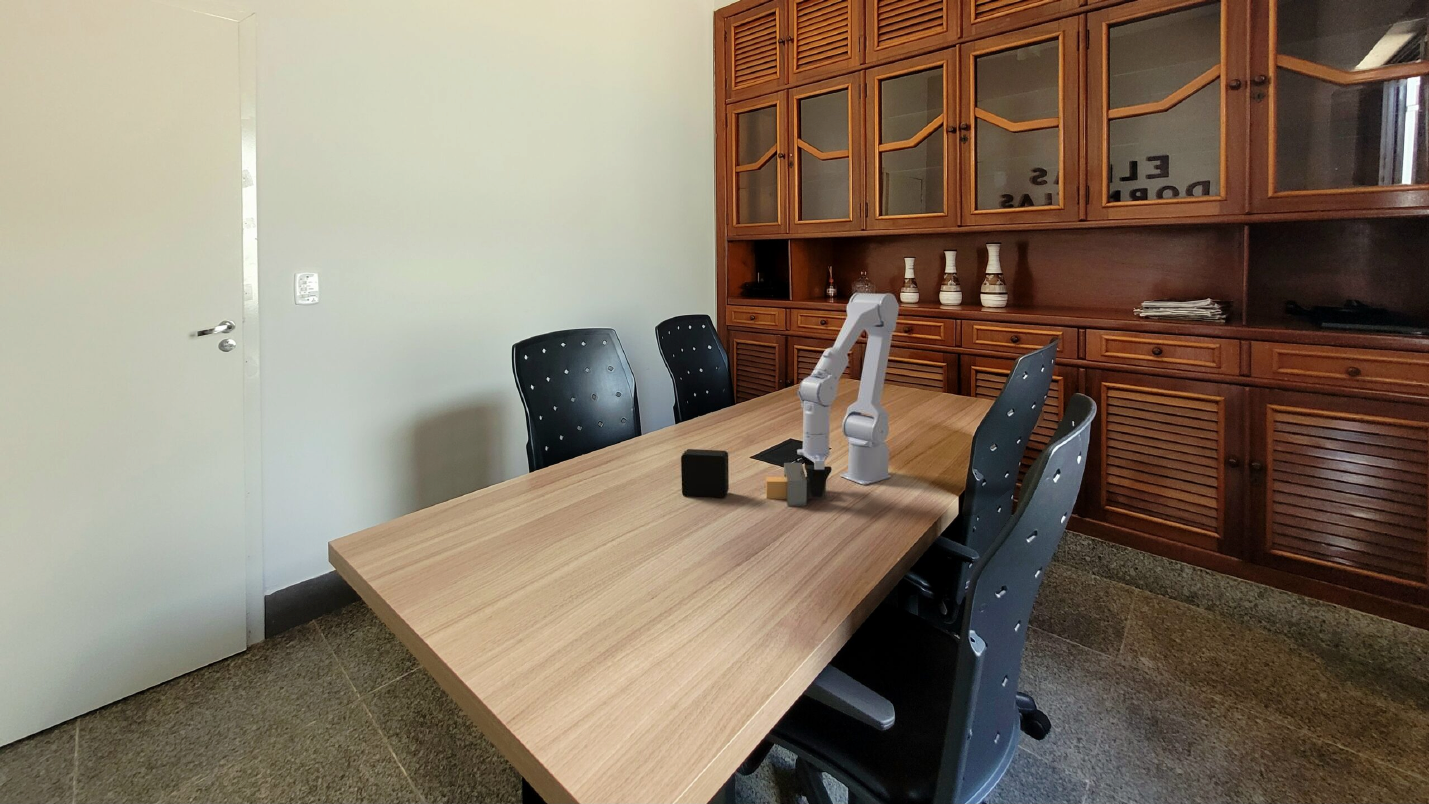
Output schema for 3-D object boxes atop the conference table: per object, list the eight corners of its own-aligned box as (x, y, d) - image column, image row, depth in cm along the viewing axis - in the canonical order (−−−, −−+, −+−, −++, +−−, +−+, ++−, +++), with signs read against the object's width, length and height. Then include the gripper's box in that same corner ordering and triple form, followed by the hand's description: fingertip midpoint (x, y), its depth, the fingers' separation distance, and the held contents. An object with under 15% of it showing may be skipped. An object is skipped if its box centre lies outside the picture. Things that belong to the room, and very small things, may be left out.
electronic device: (725, 499, 135) (725, 456, 133) (681, 496, 137) (680, 454, 135) (728, 492, 139) (728, 450, 137) (686, 489, 141) (685, 448, 139)
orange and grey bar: (823, 493, 138) (824, 476, 137) (825, 498, 135) (826, 481, 134) (766, 493, 138) (766, 476, 137) (766, 498, 135) (766, 481, 135)
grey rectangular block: (801, 486, 142) (801, 462, 141) (806, 506, 131) (806, 480, 129) (783, 486, 143) (784, 462, 141) (787, 506, 131) (787, 480, 130)
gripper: (795, 423, 140) (794, 478, 143) (800, 440, 126) (799, 502, 129) (825, 422, 140) (824, 478, 143) (835, 440, 126) (833, 502, 129)
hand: (814, 490), depth 136 cm, fingers open, 7 cm apart
